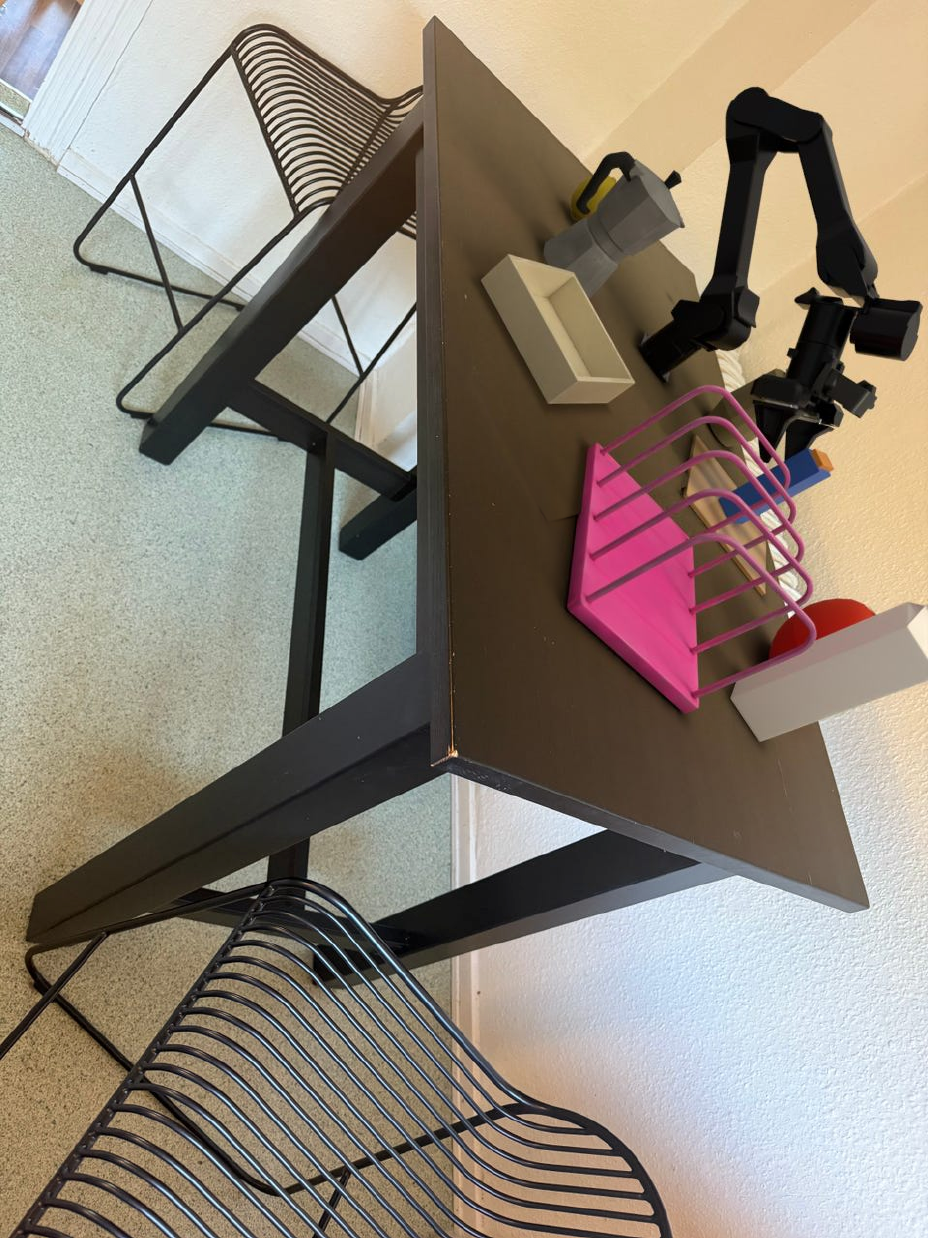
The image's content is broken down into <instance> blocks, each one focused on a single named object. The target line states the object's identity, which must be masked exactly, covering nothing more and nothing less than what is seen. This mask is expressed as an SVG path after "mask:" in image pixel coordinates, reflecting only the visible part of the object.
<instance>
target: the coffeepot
mask: <svg viewBox="0 0 928 1238" xmlns="http://www.w3.org/2000/svg"><path fill="white" fill-rule="evenodd" d="M616 169H619V170H620V172H621V173H622V174H621V176H620V177H619V178H618V180H616V181H617V182H616V183H615V185H614V186H613V187H612V188H611V189H610V191H609V192H608V193H607V194H606V195H605V196H604V198H603V199H602V200H601V201H600V202H599V204H598V206H597V211H596V212H594V213H593V214H592V215H591V216H590V217H589V218H583V219H582V220H580V221H579V220H577V222H575V223H574V224H572V225H571V226H569V227H567V228H565V229H564V230H563V231H561V232H559V233H558V234H557V235H555V236H553V237H552V238H550V239H549V240H547V241H545V242H544V248H543V257H544V259H545V261H546V263H547V265H549V266H553V267H556V268H560V269H564V270H567V271H571V272H574V274H575V275H576V277H577V279H578V281H579V283H580V284H581V286H582V288H583V290H584V292H585V293H586V295H587V297H588V299H589V300H590V299H592V297H593V296H594V295H595V294H596V293H597V291H598V290H599V289H600V288H601V287H602V286H603V285H604V283H606V282H607V280H608V279H609V278H610V277H611V276H612V275H613V273H614V272H616V270H617V269H618V268H619V264H620V263H621V262H622V261H623V260H624V259H626V257H628V256H631V257H634V256H635V255H637V254H639V253H641V252H642V251H644V250H646V249H647V248H649V247H650V246H652V245H653V244H655V243H656V242H658V241H660V240H661V239H664V238H665V237H666V236H668V235H670V234H671V233H673V232H675V231H676V230H678V229H679V228H680V229H685V228H686V225H685V222H684V219H683V217H682V216H681V212H680V210H679V208H678V206H677V204H676V201H675V200H674V198H673V195H672V192H671V189H673V188H675V187H676V186H678V185H680V184H681V183H682V182H683V180H682V176H681V174H680V173H679V172H678V171H676V170H675V169H673V170H672V171H671V173H670V174H669V175H668V177H666V178H665V180H663V179H662V178H661V177H660V176H659V175H657V174H656V173H655V172H654V171H653V170H651V169H650V168H649V167H648V166H646V165H645V164H643V163H642V162H641V161H639V159H637V158H634V156H632V155H631V153H629V151H617V152H610V153H608V154H606V155H605V156H604V157H603V158H602V159H601V161H600V162H599V164H598V166H597V167H596V169H595V171H594V172H593V174H592V175H593V176H592V175H591V176H592V178H591V179H590V181H589V182H588V184H587V186H586V187H585V189H584V191H583V192H582V194H581V195H580V197H579V199H578V200H577V202H576V207H577V209H578V210H579V211H580V212H581V213H582V214H584V215H586V214H589V213H590V212H591V210H590V209H589V208H588V207H587V202H588V201H589V200H590V199H591V198H592V197H593V196H594V195H595V194H596V193H597V191H598V188H599V186H600V185H601V184H602V183H603V182H604V180H605V179H606V178H607V177H608V176H610V174H611V172H612V171H613V170H616Z"/></svg>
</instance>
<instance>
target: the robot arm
mask: <svg viewBox="0 0 928 1238" xmlns="http://www.w3.org/2000/svg"><path fill="white" fill-rule="evenodd" d="M729 101H730V102H729V103H728V106H727V108H726V111H725V119H724V120H725V121H724V122H725V125H724V127H725V133H724V135H725V136H724V137H725V138H724V139H725V145H726V151H727V157H728V162H729V172H728V179H727V184H726V189H725V190H726V191H725V197H724V202H723V208H722V209H723V210H722V215H721V222H720V227H719V234H718V241H717V247H716V251H715V252H716V253H715V259H714V266H713V271H712V276H711V278H710V280H709V282H708V283H707V285H706V286H705V287H704V289H703V291H702V293H701V294H700V297H699V299H698V301H695V300H688V299H683V298H682V299H679V300H678V301H677V302H676V304H675V305H674V307H673V308H672V309H671V310H670V314H671V317H672V320H671V321H670V322H667V324H666V325H664V326H662V327H661V328H660V329H659V330H657V331H656V332H655V333H653V334H652V335H651V336H650V335H649V334H648V333H647V332H644V334H642V336H641V340H640V342H639V345H638V350H639V352H640V354H641V355H643V358H644V359H645V360H646V362H648V364H649V365H650V367H651V368H652V369H653V370H654V372H655V373H656V375H658V378H660V380H661V381H662V382H663V383H664V384H666V383H668V382H669V378H670V374H671V371H673V370H675V369H676V368H677V367H679V366H680V365H682V364H683V363H684V362H685V361H687V360H689V359H690V358H691V357H692V356H694V355H695V354H697V353H698V352H700V351H701V350H702V349H703V350H704V351H706V352H707V353H711V352H714V351H718V350H720V351H724V352H731V351H734V350H737V349H739V348H741V346H742V345H743V344H744V343H747V342H748V340H749V338H750V337H751V333H752V328H753V329H757V326H758V325H757V322H756V318H757V312H758V309H759V306H760V301H761V297H760V296H759V295H758V294H757V293H755V292H754V291H753V290H751V289H750V288H749V283H748V281H749V279H748V278H749V272H750V267H751V261H752V254H753V249H754V243H755V237H756V231H757V224H758V219H759V212H760V207H761V200H762V194H763V188H764V183H765V178H766V177H765V176H766V172H767V170H768V169H769V167H770V166H771V163H772V162H773V160H774V159H775V158H776V156H777V154H778V153H781V154H785V155H786V154H787V155H788V154H789V155H790V154H792V155H793V154H796V155H797V154H798V157H799V161H800V165H801V169H802V172H803V176H804V181H805V185H806V188H807V192H808V197H809V199H810V203H811V208H812V211H813V215H814V219H815V222H816V223H815V224H816V230H817V231H816V239H815V261H816V273H817V276H818V278H819V280H820V281H821V282H822V283H823V284H824V285H825V286H826V287H827V288H828V289H829V290H831V292H833V293H834V294H835V296H833V295H823V294H821V292H820V291H819V290H818V289H817V287H815V286H812V287H810V289H808V290H807V291H805V292H803V293H801V294H799V295H797V296H795V297H794V299H793V301H794V303H795V305H797V306H799V307H800V308H801V309H802V310H804V311H807V313H806V316H805V319H804V320H803V321H804V322H803V324H802V327H801V329H800V332H799V335H798V338H797V341H796V343H795V348H794V347H788V350H787V352H786V356H787V357H788V358H789V359H790V361H789V363H788V367H787V368H788V369H787V368H786V369H787V372H786V371H785V373H786V375H785V378H784V377H779V376H773V375H768V374H766V373H763V374H761V375H760V376H758V377H757V378H755V379H753V380H754V383H753V386H752V389H751V392H750V395H751V396H753V397H755V398H758V399H762V398H763V397H764V398H765V399H764V401H758V400H753V401H752V404H754V409H755V417H756V424H757V428H758V429H759V430H760V432H761V433H762V434H763V435H764V437H765V438H766V439H767V441H768V442H769V443H770V445H771V446H772V447H773V449H774V450H775V451H776V452H777V449H778V447H779V445H780V443H781V441H782V440H783V437H785V439H784V457H783V459H784V460H783V462H784V461H785V460H787V459H789V458H791V457H792V456H794V455H796V454H798V453H799V452H801V451H803V450H805V449H806V448H809V449H811V446H812V445H813V444H814V443H815V441H816V440H817V439H818V438H819V437H821V436H823V435H825V434H828V433H832V432H834V430H835V428H840V427H841V425H842V421H843V419H844V416H845V413H844V411H843V409H844V410H845V411H846V412H849V413H850V414H852V415H853V416H855V417H856V418H858V419H862V417H863V416H864V415H865V413H867V412H868V410H873V409H874V408H875V402H876V401H877V400H878V396H877V395H876V393H877V387H876V386H875V385H874V384H872V383H871V382H869V381H868V380H866V379H862V380H860V381H858V382H855V381H854V380H852V379H850V378H849V377H847V376H846V375H844V371H845V369H846V365H845V363H844V362H843V361H842V360H841V359H842V355H843V353H844V350H845V347H846V344H847V342H849V344H850V345H854V346H853V348H854V352H855V354H857V355H861V356H862V355H863V356H867V357H875V358H880V359H887V360H893V361H898V362H906V361H907V360H908V359H909V358H910V356H911V354H912V353H913V351H914V349H915V346H916V345H917V341H918V339H919V335H918V333H919V330H920V325H921V314H922V312H923V309H924V306H923V304H922V302H921V301H920V300H915V299H906V300H900V299H899V300H898V299H890V298H884V297H881V295H880V294H879V293H878V289H877V287H876V284H875V280H876V279H877V278H878V274H879V266H878V263H877V261H876V258H875V256H874V255H873V253H872V251H871V248H870V247H869V245H868V243H867V242H866V239H865V238H864V236H863V234H862V233H861V231H860V229H859V227H858V225H857V223H856V222H855V220H854V216H853V212H852V209H851V205H850V202H849V199H848V194H847V191H846V186H845V182H844V179H843V175H842V172H841V167H840V163H839V160H838V156H837V153H836V149H835V145H834V142H833V141H834V140H833V137H834V133H833V129H832V128H831V126H830V125H829V123H828V122H827V121H826V119H825V118H824V116H823V115H822V114H821V113H819V112H818V111H817V112H816V111H812V110H809V109H804V108H801V107H799V106H797V105H794V104H792V103H790V102H787V101H785V100H782V99H781V98H778V97H775V96H770V94H769V93H768V92H767V91H766V90H765V89H764V88H762V87H760V86H750V87H748V88H745V89H744V90H742V91H740V92H739V93H738V94H737V95H736V96H735V97H734V98H733V99H731V100H729ZM843 299H852V300H853V301H854V302H855V303H856V304H857V305H858V306H853V305H846V304H844V303H845V302H844V300H843ZM837 403H838V404H839V405H838V404H837ZM840 405H841V406H840ZM784 435H785V436H784ZM757 442H758V443H757V445H758V453H759V455H758V456H759V457H760V458H761V460H762V461H763V462H764V464H770V462H771V460H772V459H773V458H772V456H771V455H770V454H769V452H768V451H767V450H766V448H765V447H764V446H763V444H762V443H761V442H760V440H759V439H758V438H757Z"/></svg>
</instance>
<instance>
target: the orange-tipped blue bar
mask: <svg viewBox="0 0 928 1238" xmlns="http://www.w3.org/2000/svg"><path fill="white" fill-rule="evenodd" d="M783 462H784V464H785V465H786V466H787V468H788V470H789V473H790V484H789V486H788V488H787V490H786V492H787V493H788V495H789V496H790V497H791V499H792V498H793V497H795V496H797V495H799V494H801V493H803V492H804V491H806V490H808V489H810V488H812V487H814V486H815V485H817V484H819V483H821V482H823V481H825V480H827V479H829V478H831V476H832V475H831V472H833V471H834V470H835V467H834V466H833V463H832V462H831V459H830V458H829V455H828V453H826V452H824V451H822V450H820V449H817V448H814V449H812V448H806V449H805V450H803V451H801V452H799V453H798V454H796V455H794V456H792V457H791V458H789V459H787V460H785V461H784V460H783ZM769 470H770V471H771V472H772V474H773V475H774V476H775V478H776V479H777V480H778V481H779V483H780V484H781V485H783V483H784V479H785V476H784V473H783V471H782V470H781V468H780V467H779V466H778V464H777V465H775V466H772V467H771V468H770V469H769ZM755 477H756V478H757V480H758V481H759V482H760V484H761V485H762V486H763V488H764V489H765V490H766V491H767V493H768V494H769V495H772V494H774V493H775V492H777V489H776V488H775V487H774V486H773V484H772V483H771V482H770V480H769V479H768V478H767V476H766V475H765V474H764V473H763V472H762V473H760V474H759V475H758V476H755ZM731 492H733V493H734V494H736V495H737V496H739V497H740V498H741V499H742V500H743V501H744V502H745V503H746V504H747V506H748V507H750V506H752V505H753V504H755V503H757V502H759V501H761V500H763V498H762V496H761V495H760V494H759V493H758V491H757V490H756V489H755V487H754V486H753V485H752V483H751V482H750V481H749V480H748V481H747V482H745V483H744V484H742V485H740V486H739V487H737V489H735V490H733V491H731ZM718 500H719V502H720V504H721V506H722V509H723V511H724V513H725V515H726V517H727V518H729V517H731V516H733V515H735V514H737V513H738V512H740V511H741V510H740V509H739V507H738V506H737V505H736V504H735V503H734V502H732V501H730V500H729V499H727V498H724V497H721V498H719V499H718ZM774 502H775V503H776V505H777V506H779V505H780V504H782V503H784V502H786V501H785V500H784V499H783V497H782V496H780V497H778V498H777V499H775V500H774ZM769 510H771V508H770V507H769V506H768V504H766V505H764V506H762V507H760V508H758V509H757V510H755V511H753V512H754V513H755V514H756V515H757V516H758V515H759V516H760V515H762V514H764V513H766V512H768V511H769ZM749 520H750V519H749V518H748V517H747V516H746V515H745V516H743V517H741V518H740V519H738V520H736V521H734V523H740V524H744V523H745V522H747V521H749Z"/></svg>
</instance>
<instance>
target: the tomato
mask: <svg viewBox="0 0 928 1238" xmlns="http://www.w3.org/2000/svg"><path fill="white" fill-rule="evenodd" d="M801 609H802V610H803V611H804V612H805V614H806V615H807V616H808V617H809V618H810V619H811V620H812V622H813V623H814V625H815V628H816V639H815V641H816V640H818V639H821V638H823V637H825V636H828V635H830V634H832V633H835V632H837V631H839V630H842V629H844V628H847V627H849V626H851V625H854V624H856V623H858V622H861V621H863V620H865V619H868V618H870V617H872V616H875V615H877V613H875V611H874V610H872V607H870V606H869V605H866V604H865V603H863V602H860V601H858V600H855V599H852V598H841V597H840V598H837V597H836V598H829V599H823V600H820V601H816V602H813V603H810V604H808V605H807V606H804V607H803V608H801ZM809 633H810V631H809V629H808V627H807V626H806V625H805V624H804V622H803V621H802V620H801V619H800V618H799V617H798V616H797V615H796V613H795V612H794V613H793V614H792V615H791V616H790V617H789V618H787V619H786V620H785V621H784V623H782V625H781V626H780V627H779V628H778V629H777V631H776V633H775V634H774V636H773V639H772V642H771V645H770V648H769V653H768V660H770V659H772V658H774V657H776V656H779V655H781V654H783V653H786V652H788V651H790V650H792V649H795V648H797V647H799V646H800V645H802V644H803V643H804V642H805V641H806V640H807V638H808V637H809Z"/></svg>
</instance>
